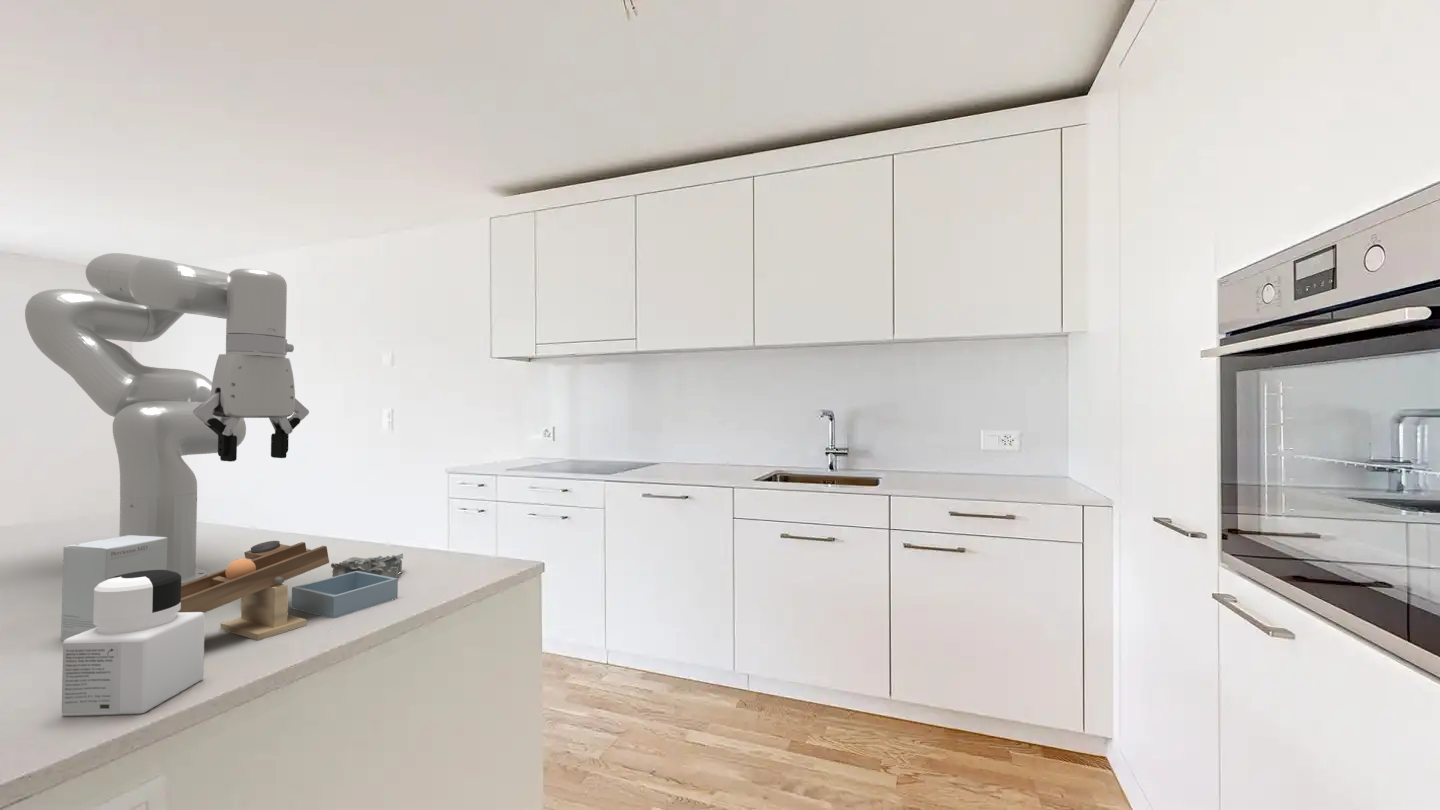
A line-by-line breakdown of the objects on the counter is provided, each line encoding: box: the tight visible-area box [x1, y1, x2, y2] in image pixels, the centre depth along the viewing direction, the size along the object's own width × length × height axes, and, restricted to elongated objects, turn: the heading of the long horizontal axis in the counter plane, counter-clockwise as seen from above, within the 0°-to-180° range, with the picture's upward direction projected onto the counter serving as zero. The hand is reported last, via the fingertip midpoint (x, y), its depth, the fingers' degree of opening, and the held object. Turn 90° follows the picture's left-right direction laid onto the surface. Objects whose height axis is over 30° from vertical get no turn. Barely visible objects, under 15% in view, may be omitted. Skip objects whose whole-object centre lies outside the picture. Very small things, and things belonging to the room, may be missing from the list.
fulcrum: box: [219, 583, 307, 641], centre depth 81 cm, size 9×6×6 cm, turn 66°
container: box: [61, 570, 206, 717], centre depth 61 cm, size 8×8×13 cm
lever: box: [178, 540, 330, 614], centre depth 80 cm, size 17×21×3 cm
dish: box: [291, 571, 399, 619], centre depth 91 cm, size 10×10×4 cm
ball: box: [225, 558, 256, 579], centre depth 78 cm, size 3×3×3 cm
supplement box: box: [60, 535, 168, 642], centre depth 78 cm, size 7×7×13 cm
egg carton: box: [330, 553, 404, 578], centre depth 105 cm, size 11×8×4 cm
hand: (254, 458), depth 93 cm, fingers open, 6 cm apart
